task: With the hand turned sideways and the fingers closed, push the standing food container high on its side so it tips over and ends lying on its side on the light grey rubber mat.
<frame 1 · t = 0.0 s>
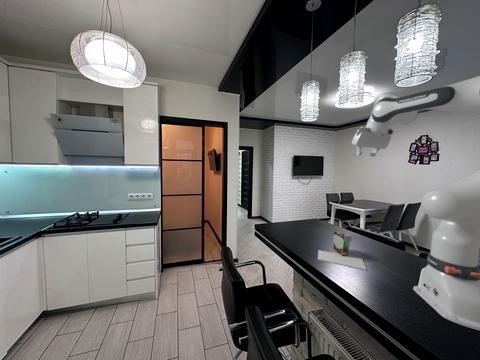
hand: (365, 155, 100), 52 cm above the table, tool tilted 20°, fingers open, 8 cm apart
rubber mat: (340, 259, 94), on the table
food container: (343, 253, 101), on the table, touching rubber mat
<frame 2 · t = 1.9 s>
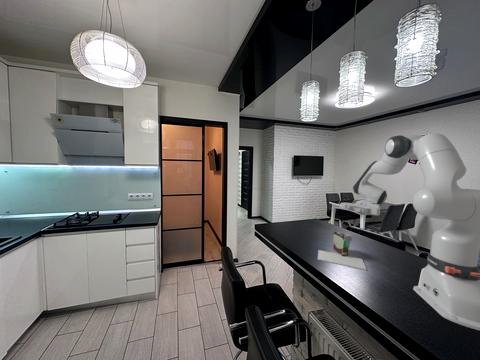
hand: (354, 209, 108), 22 cm above the table, tool horizontal, fingers open, 5 cm apart
nothing on the table moved.
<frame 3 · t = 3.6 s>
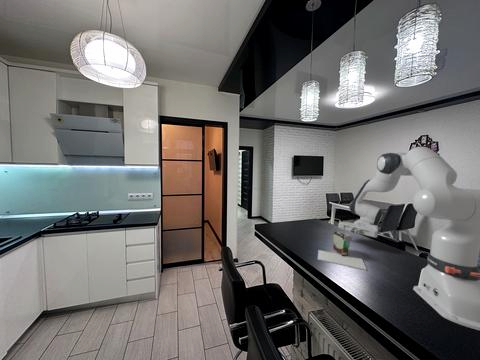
hand: (352, 231, 109), 10 cm above the table, tool horizontal, fingers closed
nothing on the table moved.
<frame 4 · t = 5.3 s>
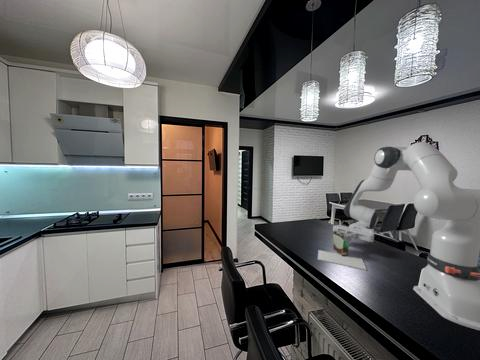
hand: (347, 235, 103), 9 cm above the table, tool horizontal, fingers closed
food container: (343, 253, 101), on the table, touching gripper, rubber mat
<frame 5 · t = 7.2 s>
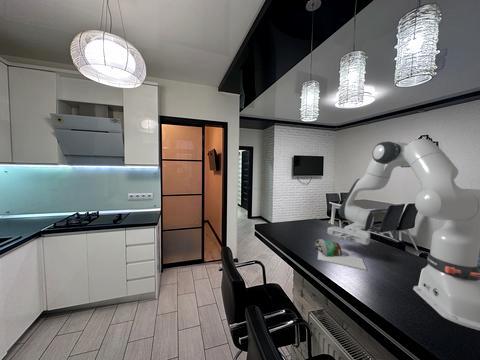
hand: (342, 237, 99), 9 cm above the table, tool horizontal, fingers closed
food container: (337, 246, 101), point 3 cm above the table, touching rubber mat
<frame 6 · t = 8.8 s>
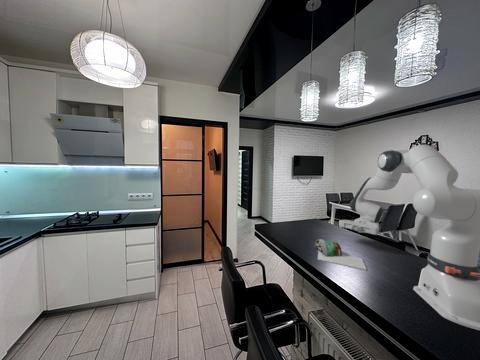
hand: (353, 228, 108), 11 cm above the table, tool horizontal, fingers closed
nothing on the table moved.
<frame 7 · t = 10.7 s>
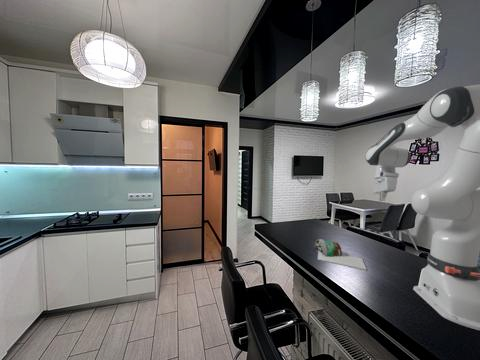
hand: (381, 200, 104), 28 cm above the table, tool pointing down, fingers closed
nothing on the table moved.
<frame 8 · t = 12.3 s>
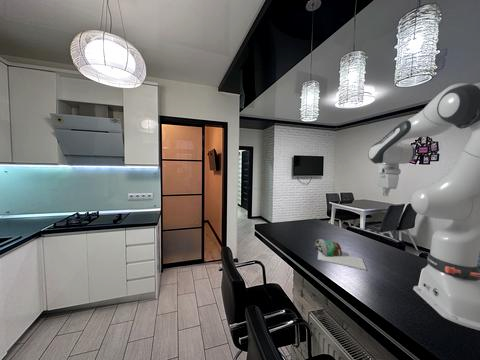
hand: (385, 195, 104), 31 cm above the table, tool pointing down, fingers closed
nothing on the table moved.
at the end: food container tilted 88°; food container touching rubber mat, table; food container inside the target area (3.0 cm from its centre), point 3.4 cm above the table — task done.
